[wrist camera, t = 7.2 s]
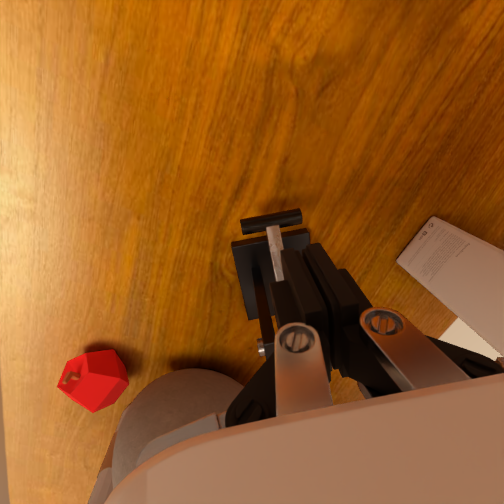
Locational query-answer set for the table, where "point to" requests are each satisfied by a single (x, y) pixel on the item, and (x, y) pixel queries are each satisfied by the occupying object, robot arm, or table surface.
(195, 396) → the planter
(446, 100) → the table surface
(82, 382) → the apple
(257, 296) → the bracket
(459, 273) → the cosmetic box
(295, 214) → the lever
